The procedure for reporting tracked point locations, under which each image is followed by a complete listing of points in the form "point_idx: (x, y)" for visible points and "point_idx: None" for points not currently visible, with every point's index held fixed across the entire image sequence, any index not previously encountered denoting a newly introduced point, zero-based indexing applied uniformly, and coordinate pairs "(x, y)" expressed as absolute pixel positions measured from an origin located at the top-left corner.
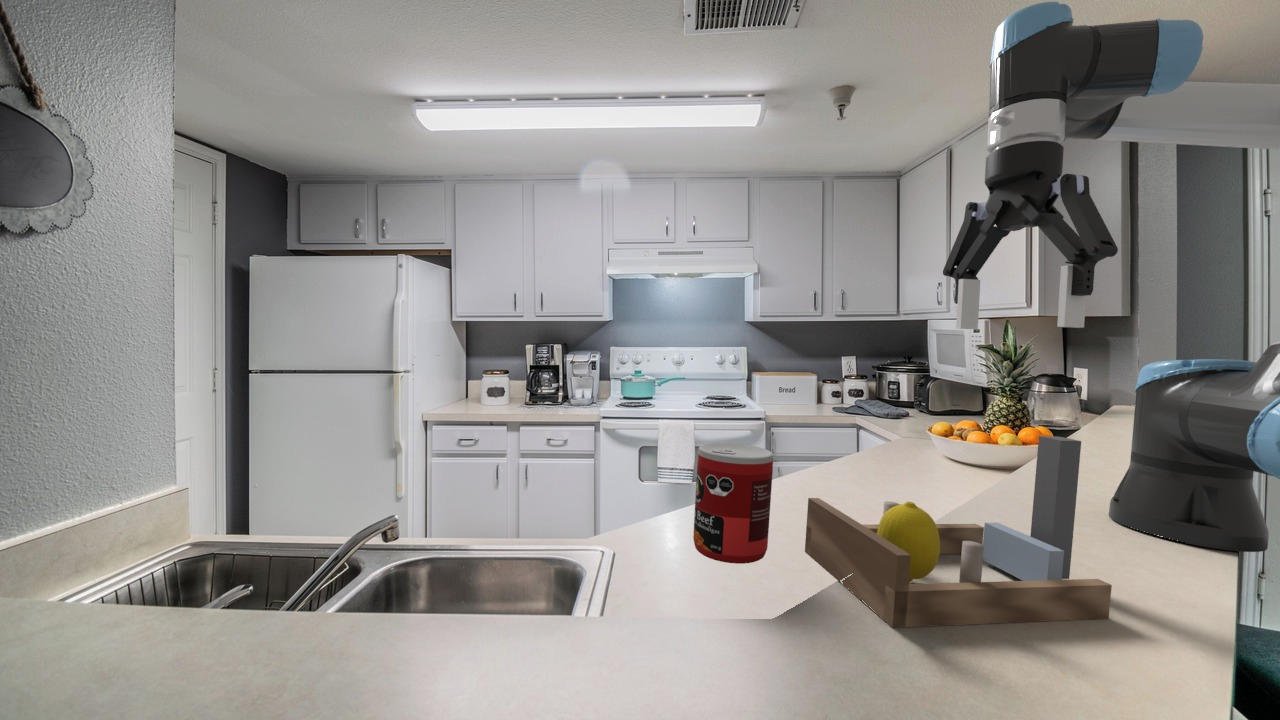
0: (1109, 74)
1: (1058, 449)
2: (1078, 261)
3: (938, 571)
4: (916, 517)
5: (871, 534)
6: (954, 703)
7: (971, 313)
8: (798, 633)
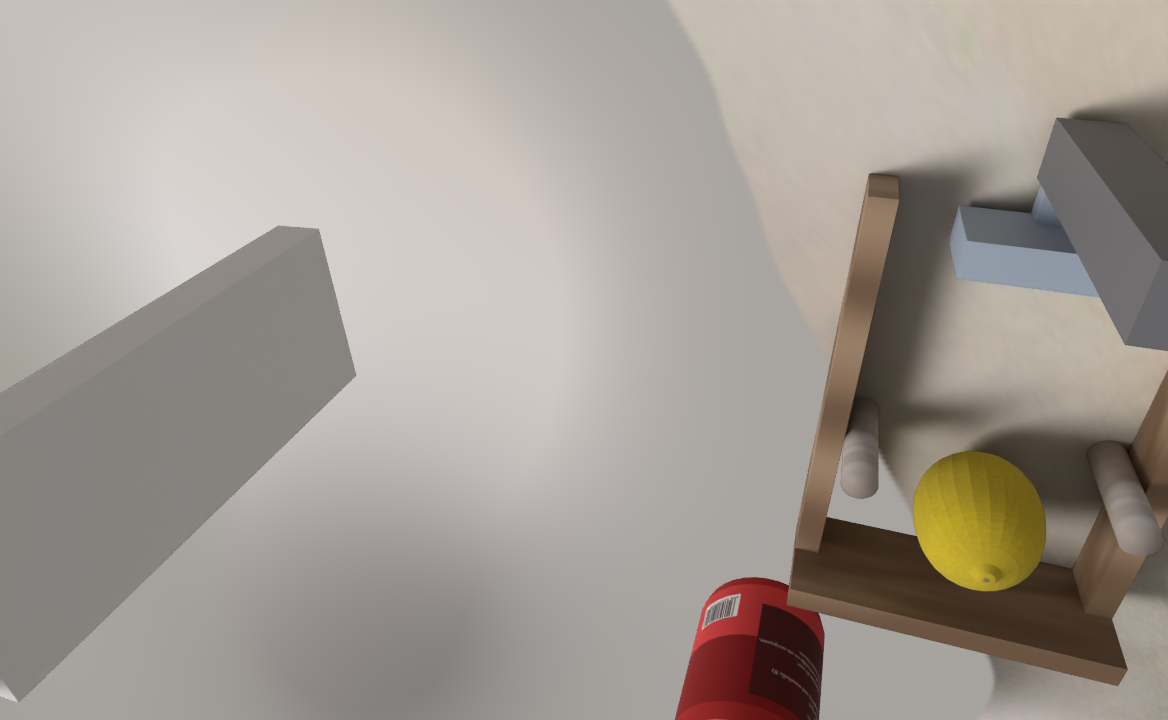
0: None
1: None
2: None
3: (948, 364)
4: (1020, 579)
5: (1015, 651)
6: None
7: (251, 357)
8: (1043, 688)
